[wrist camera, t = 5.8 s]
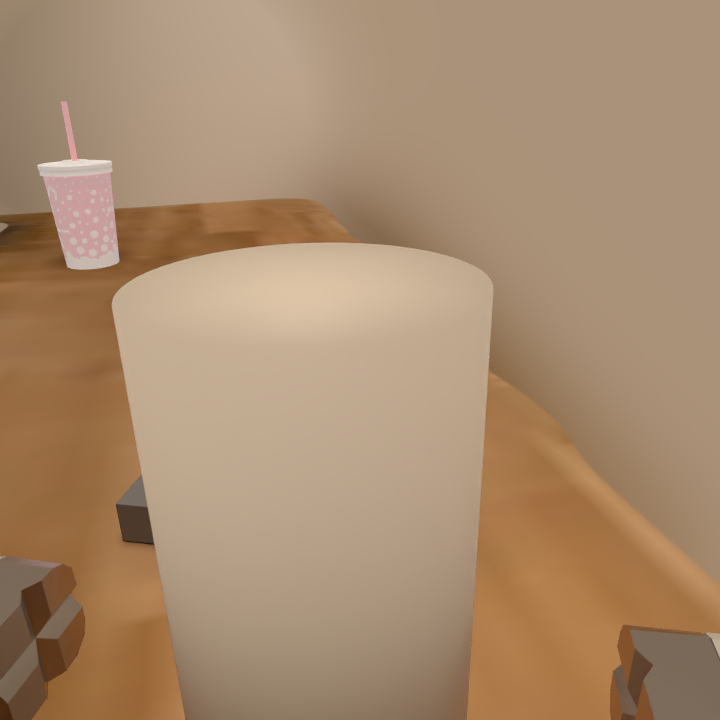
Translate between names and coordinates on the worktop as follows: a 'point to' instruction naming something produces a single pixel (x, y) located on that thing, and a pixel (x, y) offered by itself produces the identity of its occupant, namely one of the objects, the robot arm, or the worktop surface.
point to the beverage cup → (82, 207)
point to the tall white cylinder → (313, 474)
